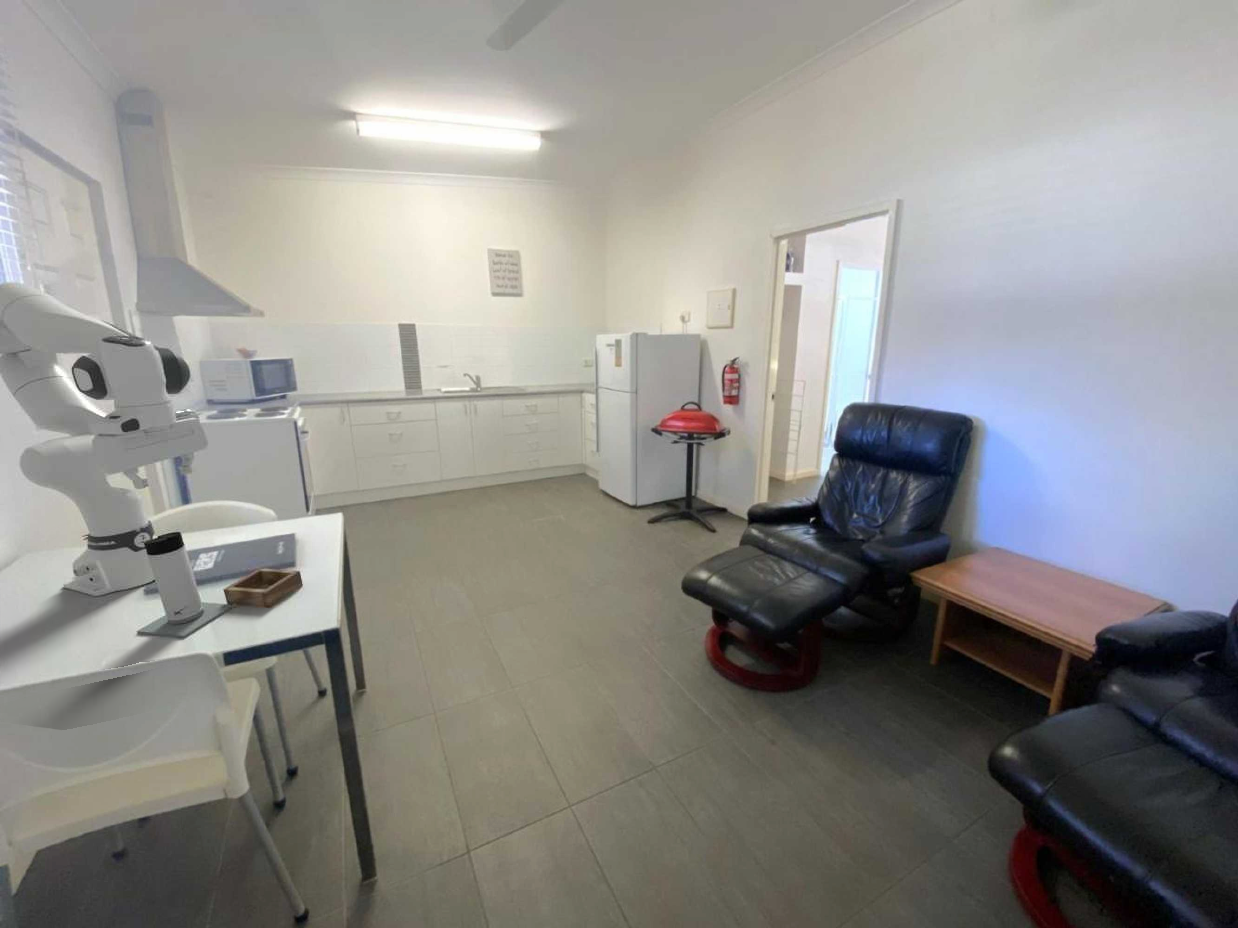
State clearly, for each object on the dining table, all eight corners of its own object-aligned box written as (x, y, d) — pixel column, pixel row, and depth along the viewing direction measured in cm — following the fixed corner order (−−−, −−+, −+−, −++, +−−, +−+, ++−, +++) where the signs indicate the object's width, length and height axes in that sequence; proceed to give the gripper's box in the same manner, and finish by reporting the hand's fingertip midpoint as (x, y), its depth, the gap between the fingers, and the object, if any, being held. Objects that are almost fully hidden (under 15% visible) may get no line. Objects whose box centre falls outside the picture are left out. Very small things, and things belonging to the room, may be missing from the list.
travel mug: (184, 626, 111) (158, 541, 106) (161, 623, 112) (134, 540, 107) (212, 610, 117) (189, 529, 111) (189, 608, 118) (165, 528, 113)
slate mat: (137, 633, 110) (136, 631, 110) (190, 603, 122) (190, 601, 121) (184, 637, 108) (183, 635, 108) (234, 606, 120) (233, 604, 119)
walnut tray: (227, 604, 121) (223, 589, 120) (263, 582, 131) (259, 568, 129) (269, 607, 119) (265, 592, 118) (302, 585, 129) (299, 570, 128)
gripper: (183, 407, 116) (199, 466, 120) (78, 427, 97) (100, 496, 101) (207, 408, 115) (221, 467, 119) (105, 428, 96) (126, 497, 100)
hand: (165, 480), depth 110 cm, fingers open, 8 cm apart
